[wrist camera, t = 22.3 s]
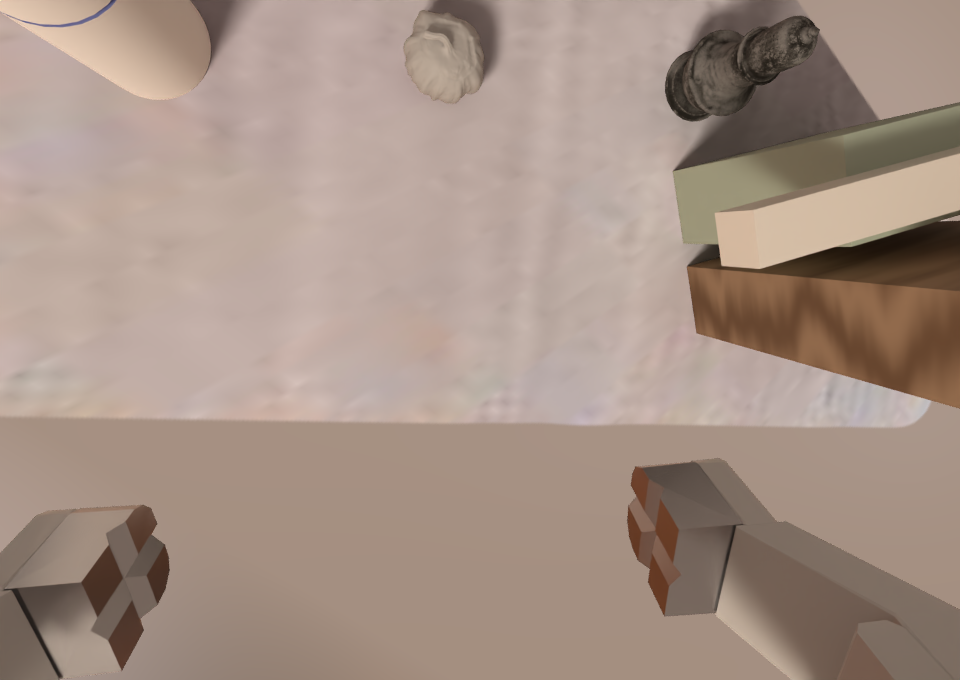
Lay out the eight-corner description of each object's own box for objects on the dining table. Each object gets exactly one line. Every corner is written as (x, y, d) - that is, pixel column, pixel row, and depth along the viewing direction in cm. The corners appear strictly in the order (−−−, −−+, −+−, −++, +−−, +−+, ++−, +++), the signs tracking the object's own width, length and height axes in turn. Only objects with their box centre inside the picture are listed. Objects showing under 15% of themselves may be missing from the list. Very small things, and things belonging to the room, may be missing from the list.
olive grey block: (673, 171, 43) (843, 135, 28) (827, 132, 46) (1063, 79, 30) (683, 243, 45) (851, 247, 29) (833, 201, 47) (1060, 184, 32)
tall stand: (686, 266, 45) (1086, 302, 20) (835, 224, 48) (1355, 210, 23) (696, 333, 47) (1081, 443, 22) (840, 288, 49) (1335, 342, 24)
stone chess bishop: (647, 80, 42) (757, 19, 30) (701, 30, 42) (831, -50, 30) (688, 141, 43) (807, 105, 32) (739, 92, 43) (876, 39, 32)
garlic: (382, 63, 37) (385, 36, 32) (434, 7, 37) (445, -29, 32) (443, 128, 39) (455, 112, 34) (493, 74, 39) (513, 50, 34)
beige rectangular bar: (712, 193, 27) (756, 187, 24) (1020, 111, 30) (1095, 97, 27) (724, 284, 28) (768, 289, 25) (1020, 196, 31) (1092, 191, 28)
